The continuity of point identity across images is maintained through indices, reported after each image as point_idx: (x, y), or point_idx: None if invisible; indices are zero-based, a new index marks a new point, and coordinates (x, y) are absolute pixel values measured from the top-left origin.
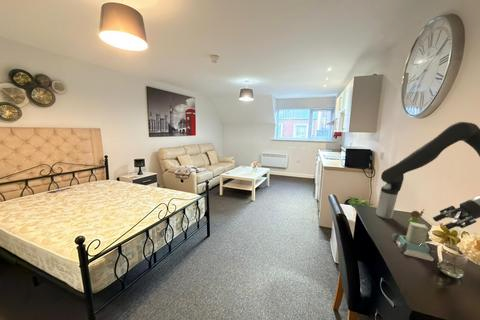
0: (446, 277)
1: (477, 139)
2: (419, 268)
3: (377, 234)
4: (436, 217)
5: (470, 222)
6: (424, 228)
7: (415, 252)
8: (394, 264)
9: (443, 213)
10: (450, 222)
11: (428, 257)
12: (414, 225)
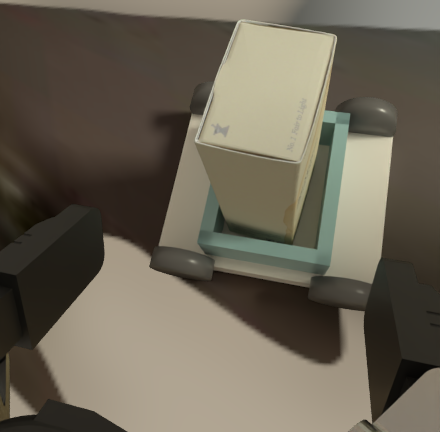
0: None
1: None
2: (77, 132)
3: (412, 60)
4: (384, 293)
5: None
6: (204, 114)
7: (198, 171)
8: (89, 29)
9: (406, 400)
10: (21, 260)
11: (163, 228)
12: (237, 36)
